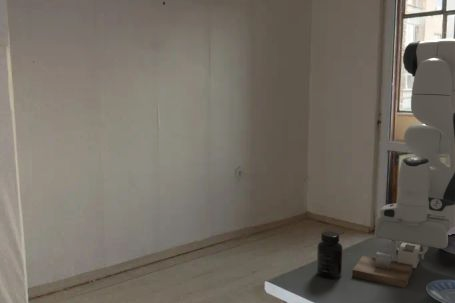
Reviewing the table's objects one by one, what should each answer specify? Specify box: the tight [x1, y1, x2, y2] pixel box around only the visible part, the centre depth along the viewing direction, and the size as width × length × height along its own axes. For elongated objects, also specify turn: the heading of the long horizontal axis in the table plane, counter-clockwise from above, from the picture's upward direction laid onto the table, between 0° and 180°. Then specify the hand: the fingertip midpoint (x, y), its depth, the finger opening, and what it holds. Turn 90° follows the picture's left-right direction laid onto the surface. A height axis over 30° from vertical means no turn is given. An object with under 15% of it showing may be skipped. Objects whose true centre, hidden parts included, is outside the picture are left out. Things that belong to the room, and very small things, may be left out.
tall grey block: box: [375, 251, 393, 270], centre depth 127 cm, size 2×4×4 cm, turn 60°
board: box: [352, 255, 413, 289], centre depth 128 cm, size 12×14×2 cm
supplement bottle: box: [316, 230, 343, 280], centre depth 127 cm, size 7×7×12 cm
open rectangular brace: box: [396, 242, 422, 269], centre depth 136 cm, size 8×5×5 cm
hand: (408, 256), depth 136 cm, fingers closed on open rectangular brace, 5 cm apart
